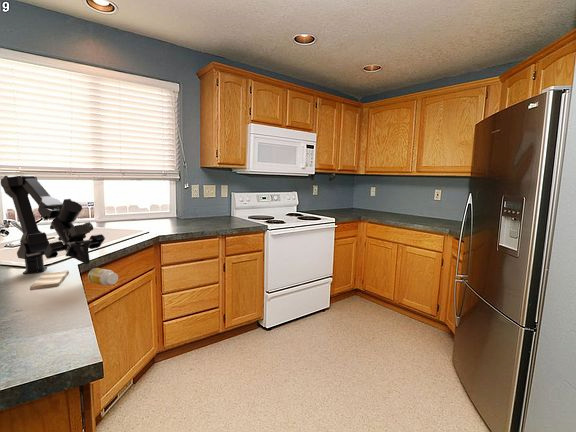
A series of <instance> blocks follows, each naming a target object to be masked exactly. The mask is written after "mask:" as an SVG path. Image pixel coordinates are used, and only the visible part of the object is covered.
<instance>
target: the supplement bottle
mask: <svg viewBox="0 0 576 432" xmlns="http://www.w3.org/2000/svg"><path fill="white" fill-rule="evenodd" d="M87 279H88V281H89V282H90V283H93V284H97V285H101V286H110V285H115V284H116V283H117V282H118V280H119V275H118V274H117V273H116V272H114V271H113V270H112V269H106V268H100V267H93V268H91V270H89V272H88V274H87Z"/></svg>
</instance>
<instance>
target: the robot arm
mask: <svg viewBox="0 0 576 432" xmlns="http://www.w3.org/2000/svg"><path fill="white" fill-rule="evenodd" d="M0 186H1V187H2V188H3V191H4V193H5V194H6V195H7V196H8V197H9V198H11V199H12V201H13V205H14V208H15V212H16V215H17V218H18V221H19V224H20V228H21V231H22V235H21V238H20V240H19V244H20V246H19V248H18V250H17V252H16V255H17V258H18V259H21V260H24V263H25V264H24V265H25V270H24V271H23V272H22V274H23V275H24V274H25V275H26V274H33V273H34V274H35V273H43V272H44V271H46V270H47V268H48V266H45V265H44V257H46V259H47V260H48V259H54V258H56V257H57V256H58V254H59V252H62V251H63V252H64V251H65V257H69V258H72V259H75V260H77V261H79V262H81V263H83V264H85V265H89V264H90V263H91V260H90V253H89V249H91V250H93V249H94V250H95V249H98V248H100V247H101V246H102V244H103V243H104V241H105V240H106V238H105V236H104V234H101V233H99V234H98V233H97V234H93V235H90V237H89V238H88V239H86V237H87V234H89V233H91V232H92V231H94V226H93V224H92V223H91V222H90V221H88V222H85V223H82V224H77V225H74V223H73V222H75V221H76V220H77V218H78V217H79V216H80V213H81V212H82V210H83V206H82V205H81V203H79V202H77V201H74V200H72V199H71V198H64V199H63V202H62V201H60V199H57V198H55V197H53V196H51V195H50V194H49V192H48V191H47V190H46V189H45V187H43V186H42V184H41V183H40V182H39V181H38V178H37V176H36V175H33V174H21V175H4V176H3V178H1V179H0ZM29 195H30V196H31V198H32V199H33V200H34V201H35V203H36V204H37V205H38V209H37V212H38V213H39V215H40V216H41V218H42V219H43V220H52V221H51V222H50V226H49V229H50V230H54V231H55V232H56V233H57V235H58V238H57V239H58V241H54V242H53V241H52V242H50V241H49V240H48V237H47V233H46V232H42V231H40V230H39V228H38V225H37V221H36V218H35V217H36V216H35V214H34V211H33V209H32V205H31V202H30V197H29Z"/></svg>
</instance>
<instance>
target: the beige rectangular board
mask: <svg viewBox="0 0 576 432" xmlns="http://www.w3.org/2000/svg"><path fill="white" fill-rule="evenodd" d="M69 273H70V271H69V270H64V271H63V270H60V271H52V272H44V273H42V274H41V275H40V276H39V277H38V278H37V279H36V280H34V282H33V283H31V285H30V286H29V290H37V289H45V288H52V287H59V286H60V285H61V284H62V282H63V281H64V280H65V279H66V277H67V276H68V275H69Z"/></svg>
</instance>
